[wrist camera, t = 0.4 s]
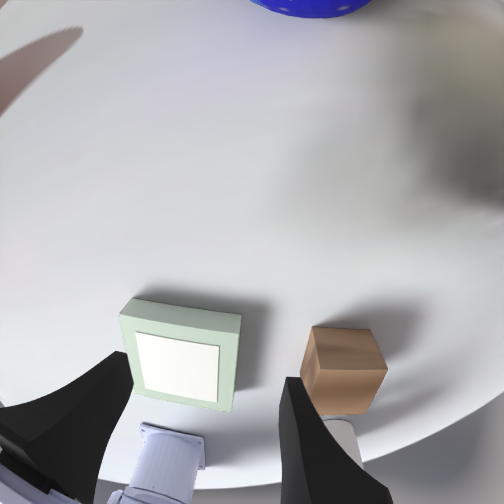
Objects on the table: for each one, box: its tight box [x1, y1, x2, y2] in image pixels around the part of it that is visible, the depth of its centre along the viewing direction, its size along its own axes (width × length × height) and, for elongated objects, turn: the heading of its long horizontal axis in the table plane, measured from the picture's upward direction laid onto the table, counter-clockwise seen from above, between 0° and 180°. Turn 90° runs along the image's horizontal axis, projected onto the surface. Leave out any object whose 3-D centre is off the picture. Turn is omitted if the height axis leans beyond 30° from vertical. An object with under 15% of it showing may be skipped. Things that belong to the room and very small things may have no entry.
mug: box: [323, 420, 364, 470], centre depth 21 cm, size 10×7×12 cm, turn 19°
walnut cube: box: [300, 327, 388, 415], centre depth 20 cm, size 5×5×5 cm
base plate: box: [119, 298, 242, 412], centre depth 22 cm, size 9×9×3 cm
